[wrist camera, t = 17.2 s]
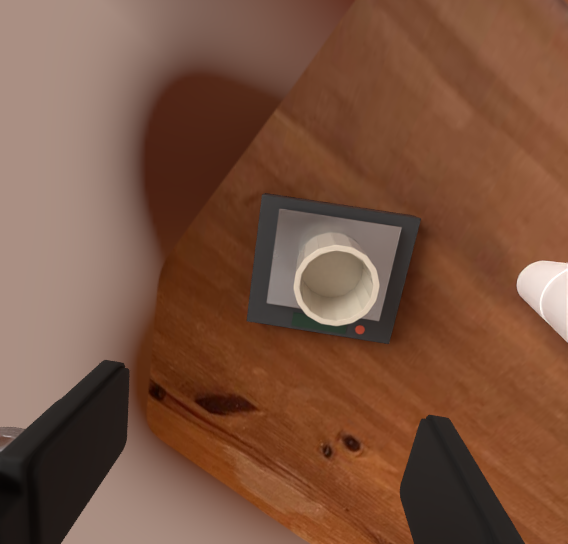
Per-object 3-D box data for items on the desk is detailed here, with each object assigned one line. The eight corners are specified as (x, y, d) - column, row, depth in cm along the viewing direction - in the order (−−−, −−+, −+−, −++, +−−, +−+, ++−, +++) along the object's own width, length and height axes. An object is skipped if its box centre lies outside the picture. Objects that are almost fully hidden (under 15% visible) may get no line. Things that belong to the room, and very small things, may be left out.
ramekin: (291, 293, 36) (288, 318, 30) (302, 227, 34) (301, 239, 28) (358, 304, 36) (369, 331, 30) (373, 238, 34) (387, 252, 28)
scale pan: (267, 300, 37) (266, 303, 37) (280, 207, 34) (279, 208, 34) (377, 318, 37) (379, 321, 36) (399, 226, 34) (401, 227, 33)
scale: (250, 312, 41) (246, 321, 38) (265, 193, 37) (261, 194, 35) (384, 334, 41) (389, 344, 38) (413, 215, 37) (421, 218, 34)
